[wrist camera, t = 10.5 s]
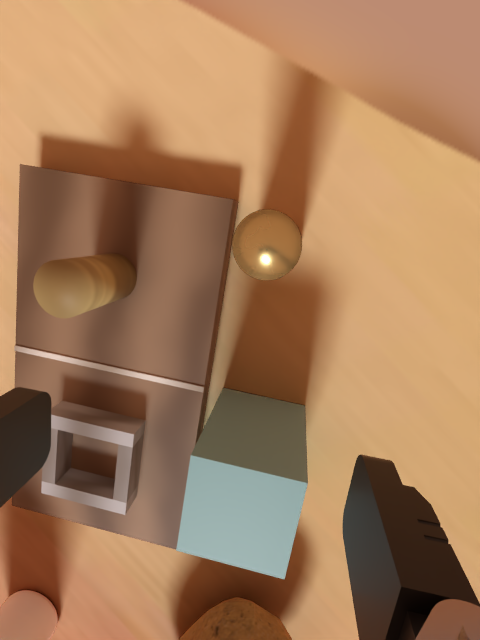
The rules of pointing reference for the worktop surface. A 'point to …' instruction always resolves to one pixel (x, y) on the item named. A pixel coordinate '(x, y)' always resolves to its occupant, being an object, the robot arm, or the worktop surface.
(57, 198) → the board
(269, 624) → the potato
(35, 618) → the drinking glass
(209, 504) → the block
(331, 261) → the worktop surface
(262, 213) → the pin
